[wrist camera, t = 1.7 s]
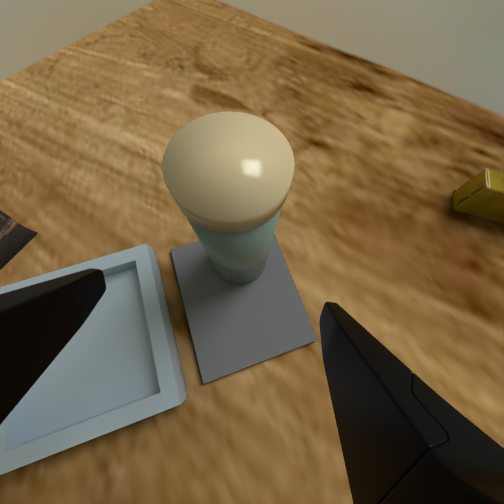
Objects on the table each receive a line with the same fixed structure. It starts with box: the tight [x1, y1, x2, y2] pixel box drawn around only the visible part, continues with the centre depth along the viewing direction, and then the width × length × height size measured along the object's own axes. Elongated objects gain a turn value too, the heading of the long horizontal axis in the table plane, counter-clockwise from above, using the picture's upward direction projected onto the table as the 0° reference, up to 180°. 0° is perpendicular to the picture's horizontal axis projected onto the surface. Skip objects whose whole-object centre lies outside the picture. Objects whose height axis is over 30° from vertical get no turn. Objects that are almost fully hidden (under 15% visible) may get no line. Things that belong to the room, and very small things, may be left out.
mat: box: [171, 234, 317, 384], centre depth 21 cm, size 12×10×1 cm
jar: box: [162, 112, 294, 285], centre depth 15 cm, size 5×5×13 cm
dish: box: [0, 244, 188, 475], centre depth 18 cm, size 13×13×2 cm
